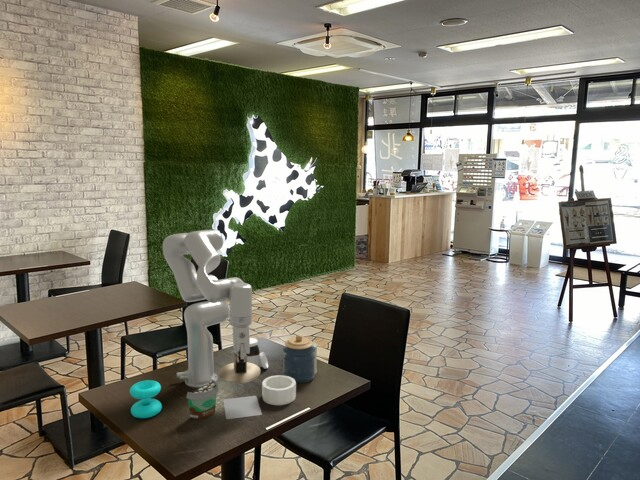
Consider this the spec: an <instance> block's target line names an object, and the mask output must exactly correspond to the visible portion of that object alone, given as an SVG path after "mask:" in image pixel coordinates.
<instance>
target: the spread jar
mask: <svg viewBox="0 0 640 480" xmlns="http://www.w3.org/2000/svg"><path fill="white" fill-rule="evenodd" d="M245 352H246V351H245ZM246 355H247V362H248V363H253V364H255V365H257V366H258V367H259V368H260V366H262V368H263V369H265V370H266V369H269V362H268V359H267V358H268V357H267V355H266V353H265V351H262V352H261V350H260V348H259V345H258V339H256V338H254V337H250V353H249V354H247V353H246Z"/></svg>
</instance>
